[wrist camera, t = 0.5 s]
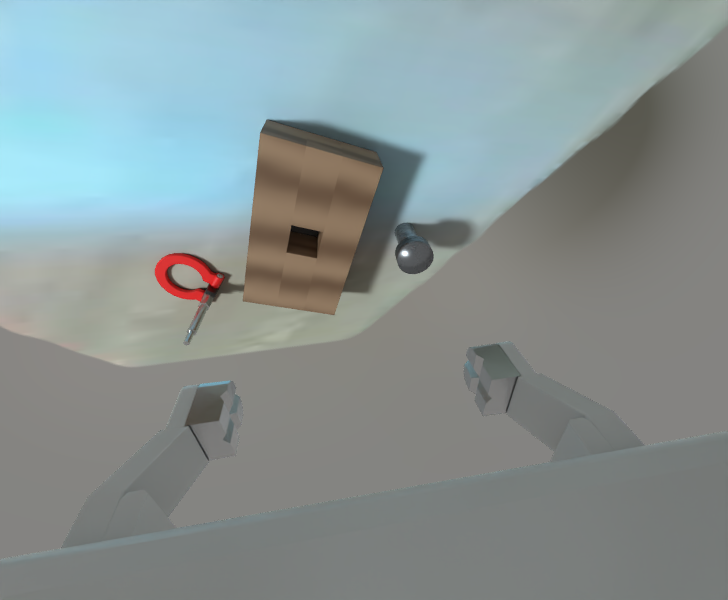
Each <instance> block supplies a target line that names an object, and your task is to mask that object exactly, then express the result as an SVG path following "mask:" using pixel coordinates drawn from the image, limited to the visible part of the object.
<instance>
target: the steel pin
mask: <svg viewBox="0 0 728 600" xmlns="http://www.w3.org/2000/svg"><path fill="white" fill-rule="evenodd" d="M395 236H396V239H397V241H398V246H397V247H396V250H395V256H396V260H397V263H398V266H399V268H400V269H401V270H402V271H403V272H405V273H408V274H417V273H420V272H423V271H424V270H426V269H427V268H428V267H429V266H430V265H431V263H432V261H433V251H432V249H431V247H430V245H429V243H428V242H427V240H426V239H424V238H423V237H420V236H417V234H416V232H415V230H414V228H413V226H412V225H411V224H409V223H402V224H400V225H398V226H397V228H396V229H395Z"/></svg>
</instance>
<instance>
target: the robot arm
mask: <svg viewBox="0 0 728 600" xmlns="http://www.w3.org/2000/svg"><path fill="white" fill-rule="evenodd" d="M466 356H467V358H468V361H467V362H466V364H465V365H464V379H465V382H466V385H467V387H468V389H469V390H470V391H471V392H473V393H474V394H476V396H475V402H476V404H477V406H478V408H479V410H480V412H481V414H482V416H488V415H495V414H502V413H507V415H508V416H509V417H511V418H512V419H513V420H514V421H516V422H517V423H518V424H519V425H521V426H522V427H523V428H525V429H526V430H527V431H528V432H530V433H531V434H532V435H533V436H535V437H536V438H537V439H539V440H540V441H541V442H542V443H544V444H545V445H546V446H548V447H549V448H550V449H551V450H553V451H554V453H553V455H552V458H551V460H550V462H548V463H543V464H538V465H532V466H526V467H520V468H514V469H509V470H503V471H497V472H492V473H487V474H480V475H475V476H470V477H463V478H458V479H452V480H447V481H442V482H435V483H430V484H424V485H418V486H412V487H407V488H401V489H396V490H390V491H384V492H379V493H374V494H368V495H362V496H356V497H350V498H345V499H339V500H333V501H328V502H322V503H317V504H311V505H305V506H300V507H294V508H288V509H283V510H277V511H271V512H265V513H260V514H255V515H249V516H243V517H237V518H231V519H226V520H221V521H215V522H209V523H203V524H197V525H192V526H186V527H180V528H177V527H176V526H175V525H174V523H173V522H172V521H171V520H170V519H169V518H168V517H169V515H170V514H171V513H172V511H173V510H174V509H175V507H176V506H177V505H178V503H179V502H180V501H181V499H182V498H183V496H184V495H185V494H186V492H187V491H188V490H189V488H190V487H191V486H192V484H193V483H194V482H195V480H196V479H197V478H198V476H199V475H200V474H201V472H202V471H203V469H204V468H205V467H206V465H207V464H208V463H209V460H214V459H220V458H225V457H230V456H235V455H236V452H237V447H238V442H239V435H238V432H237V429H238V428H239V427H240V426H241V425H242V419H243V406H242V401H241V399H240V397H239V396H238V395H236V394H235V391H236V387H235V384H234V382H233V381H223V382H214V383H206V384H200V385H191V386H184V387H183V388H182V390H181V391H180V394H179V396H178V399H177V401H176V404H175V406H174V409H173V411H172V414H171V417H170V419H169V421H168V424H167V426H166V429H165V430H160V431H159V432H158V433H157V434H156V435H155V436H154V437H153V438H151V439H150V440H149V441H148V442H147V443H146V444H145V445H144V446H143V447H142V448H141V449H139V450H138V451H137V452H136V453H135V454H134V455H133V456H132V457H131V458H130V459H129V460H127V461H126V462H125V463H124V464H123V465H122V466H121V467H120V468H119V469H118V470H117V471H115V472H114V473H113V474H112V475H111V476H110V477H109V478H108V479H107V480H106V481H105V482H103V483H102V484H101V485H100V486H99V487H98V488H97V489H96V490H95V491H94V492H93V493H91V494H90V495H89V496H88V497H87V499H86V501H85V503H84V505H83V507H82V508H81V510H80V512H79V514H78V517H77V518H76V520H75V522H74V524H73V526H72V528H71V530H70V532H69V533H68V535H67V537H66V539H65V541H64V543H63V545H62V547H61V549H55V550H50V551H44V552H38V553H32V554H27V555H22V556H15V557H10V558H5V559H0V600H728V431H724V432H718V433H713V434H707V435H701V436H696V437H690V438H685V439H679V440H673V441H668V442H662V443H656V444H650V445H644V444H643V442H642V441H641V440H640V439H639V438H638V437H637V436H636V435H635V434H634V433H633V432H632V430H630V428H629V427H628V426H627V425H626V424H625V423H624V422H623V421H622V419H621V418H620V417H619V416H618V415H617V414H616V413H615V412H614V411H612V410H610V409H608V408H607V407H605V406H603V405H601V404H599V403H597V402H595V401H593V400H591V399H589V398H587V397H586V396H583V395H581V394H580V393H578V392H576V391H574V390H572V389H570V388H568V387H566V386H564V385H562V384H561V383H559V382H557V381H555V380H553V379H551V378H549V377H547V376H545V375H543V374H537V373H536V372H535V371H534V369H533V368H532V367H531V366H530V364H529V363H528V362H527V360H526V359H525V358H524V357H523V355H522V354H521V353H520V352H519V350H518V349H517V348H516V346H515V345H514V344H513V343H512V342H510V341H509V342H502V343H496V344H488V345H481V346H475V347H469V348H468V350H467V354H466Z"/></svg>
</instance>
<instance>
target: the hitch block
mask: <svg viewBox="0 0 728 600" xmlns="http://www.w3.org/2000/svg"><path fill="white" fill-rule="evenodd" d="M382 171H383V166H382V164H381V161H380V159H379V157H378V155H377V152H374V151H371V150H367V149H364V148H361V147H357V146H354V145H351V144H347V143H344V142H340V141H337V140H334V139H330V138H327V137H324V136H320V135H317V134H314V133H310V132H307V131H303V130H300V129H297V128H293V127H290V126H287V125H283V124H280V123H277V122H273V121H270V120H266V122H265V124H264V126H263V128H262V130H261V132H260V140H259V150H258V159H257V169H256V179H255V188H254V198H253V207H252V217H251V227H250V236H249V246H248V256H247V265H246V275H245V285H244V294H243V301H245V302H251V303H258V304H265V305H271V306H278V307H284V308H291V309H298V310H304V311H311V312H318V313H324V314H331V315H334V314H335V311H336V308H337V305H338V302H339V299H340V296H341V293H342V290H343V287H344V284H345V281H346V278H347V275H348V272H349V269H350V266H351V263H352V260H353V257H354V254H355V251H356V248H357V245H358V242H359V239H360V236H361V233H362V230H363V227H364V224H365V221H366V218H367V215H368V212H369V209H370V207H371V204H372V201H373V198H374V195H375V192H376V189H377V186H378V183H379V180H380V177H381V174H382ZM291 225H293V226H297V227H302V228H307V229H311V230H316V231H318V235H317V237H316V236H311V235H306V234H301V233H297V232H292V231H290V230H291Z"/></svg>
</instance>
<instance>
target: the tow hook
mask: <svg viewBox="0 0 728 600" xmlns="http://www.w3.org/2000/svg"><path fill="white" fill-rule="evenodd" d="M174 264H185V265H188V266H191V267H193V268H194V269H196V270H197V271H198V272H199V273H200V274H201V276H202V278H203V281H205V282H207V283H209V285H208V287H207V289H206V290H205V291H204V290H202V289H196V290H185V289H182V288H179V287H177V286H176V285H174V284H173V283H172V282H171V281H170V279H169V278H168V275H167V270H168V268H169V267H170V266H172V265H174ZM155 276H156V278H157V281H158V282H159V284H160V285H161V287H163V288H164V289H165V290H166V291H167V292H169V293H170V294H172V295H174V296H177V297H179V298H183V299H192V300H195V299H196V300H198V301H200V304H199V306H198V307H199V308H198V310H197V312H196V314H195V316H194V318H193V320H192V322H191V324H190V326H189V328H188V330H187V333H188V334H187V336H186V338H185V340H184V342H183V343H184V344H185V345H189V344H190V342H191V340H192V337H193V335H195V334H196V333H197V330H198V328H199V326H200V324H201V322H202V320H203V317H204V315H205V313H206V311H207V310H208V309H209V307H210V305H211V303H212V301H213V299H214V297H215V296H216V294H217V291H218V289H219V286H220V284H221V283H222V281H223V279H224V275H223V274H221V273H214V272H212V271H211V270H210V268H209V267H208V266H207V265H206V264H205V263H204V262H202V261H201V260H199V259H198V258H195V257H193V256H191V255H187V254H183V253H174V254H169V255H167V256H165V257H163V258H162V259H161V260H160V261H159V262H158V263H157V265H156V268H155Z"/></svg>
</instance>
